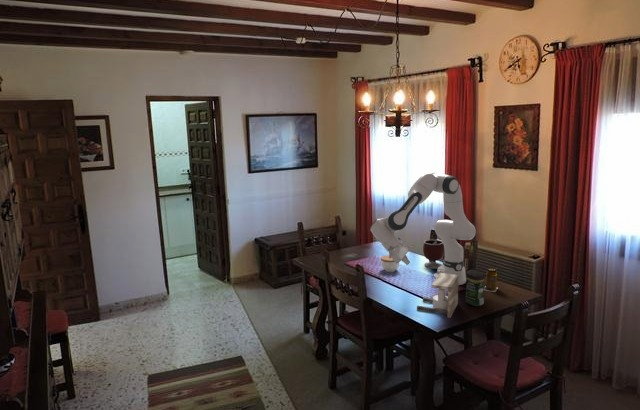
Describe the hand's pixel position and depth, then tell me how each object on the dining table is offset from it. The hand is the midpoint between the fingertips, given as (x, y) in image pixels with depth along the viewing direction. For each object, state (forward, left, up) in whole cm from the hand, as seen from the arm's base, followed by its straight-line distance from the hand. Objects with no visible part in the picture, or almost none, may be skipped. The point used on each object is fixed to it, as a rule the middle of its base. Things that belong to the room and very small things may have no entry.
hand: (408, 263), depth 242 cm
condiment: (-4, +54, -23) cm, 59 cm away
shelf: (+12, +11, -23) cm, 28 cm away
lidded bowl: (-55, +11, -23) cm, 60 cm away
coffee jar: (+12, +33, -23) cm, 42 cm away
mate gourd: (-54, +43, -23) cm, 73 cm away
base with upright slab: (+13, +13, -23) cm, 29 cm away
